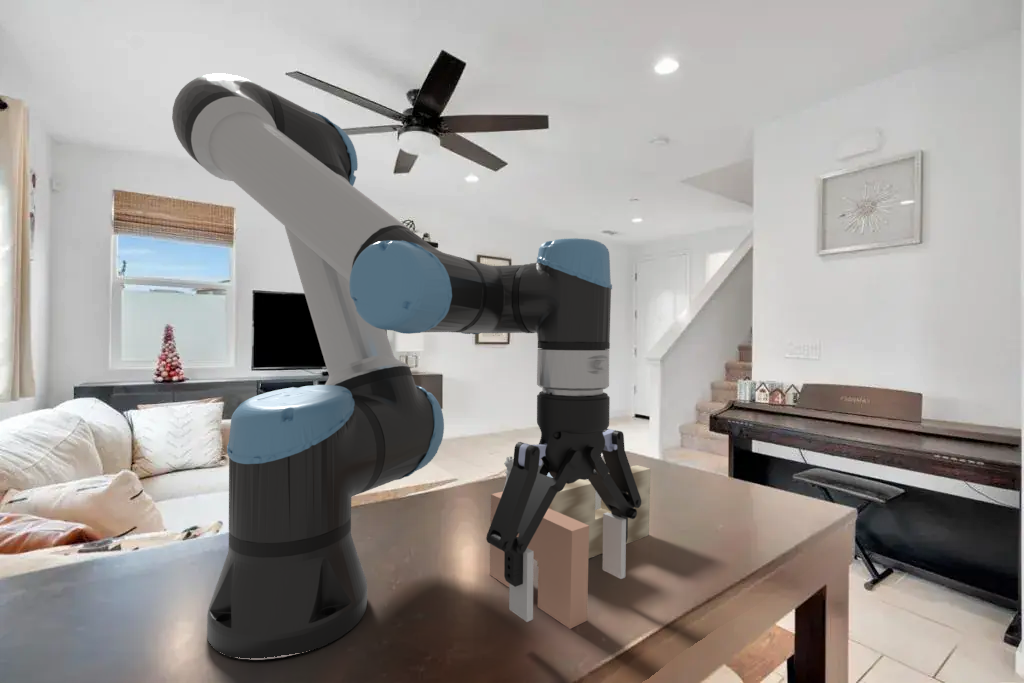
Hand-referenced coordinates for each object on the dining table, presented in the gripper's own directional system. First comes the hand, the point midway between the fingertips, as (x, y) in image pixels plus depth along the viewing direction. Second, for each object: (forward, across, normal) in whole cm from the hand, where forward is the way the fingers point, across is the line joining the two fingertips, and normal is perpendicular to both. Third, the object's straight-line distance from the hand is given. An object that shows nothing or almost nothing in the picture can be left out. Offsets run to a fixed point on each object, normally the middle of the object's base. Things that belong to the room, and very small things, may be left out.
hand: (571, 592), depth 52 cm
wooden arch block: (+3, 0, +6) cm, 6 cm away
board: (+3, +15, +10) cm, 18 cm away
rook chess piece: (+3, +17, +31) cm, 36 cm away
